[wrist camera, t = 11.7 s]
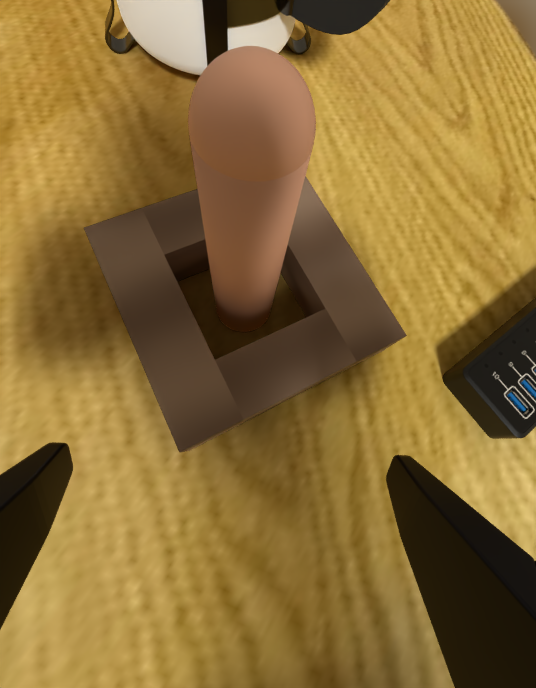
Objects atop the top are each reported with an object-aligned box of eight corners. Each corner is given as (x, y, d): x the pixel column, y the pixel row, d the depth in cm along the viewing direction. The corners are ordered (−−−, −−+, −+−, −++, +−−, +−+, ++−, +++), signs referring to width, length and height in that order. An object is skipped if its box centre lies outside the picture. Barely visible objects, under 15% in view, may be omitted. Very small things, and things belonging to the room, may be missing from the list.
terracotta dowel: (280, 318, 19) (358, 95, 7) (230, 340, 19) (218, 138, 6) (255, 273, 20) (286, -4, 8) (207, 293, 19) (153, 27, 7)
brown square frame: (381, 351, 19) (406, 335, 16) (189, 450, 17) (179, 452, 14) (285, 193, 22) (292, 156, 19) (106, 259, 19) (83, 227, 16)
